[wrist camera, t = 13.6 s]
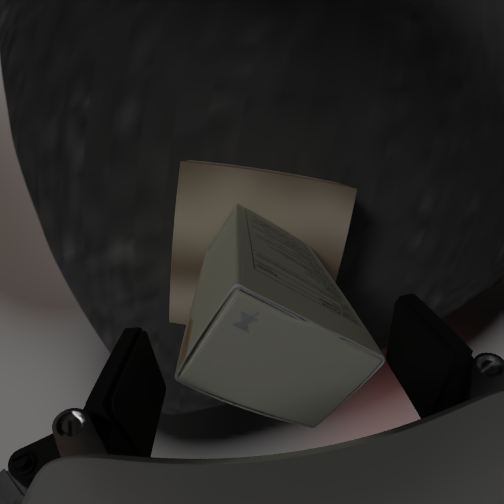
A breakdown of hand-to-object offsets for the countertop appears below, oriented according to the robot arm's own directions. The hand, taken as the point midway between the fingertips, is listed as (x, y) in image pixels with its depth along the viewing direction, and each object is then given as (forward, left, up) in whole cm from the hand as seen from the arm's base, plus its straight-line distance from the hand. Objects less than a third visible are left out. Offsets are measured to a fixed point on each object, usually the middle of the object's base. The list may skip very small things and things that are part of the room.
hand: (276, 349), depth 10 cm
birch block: (+1, 0, -16) cm, 16 cm away
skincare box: (0, 0, -11) cm, 11 cm away
